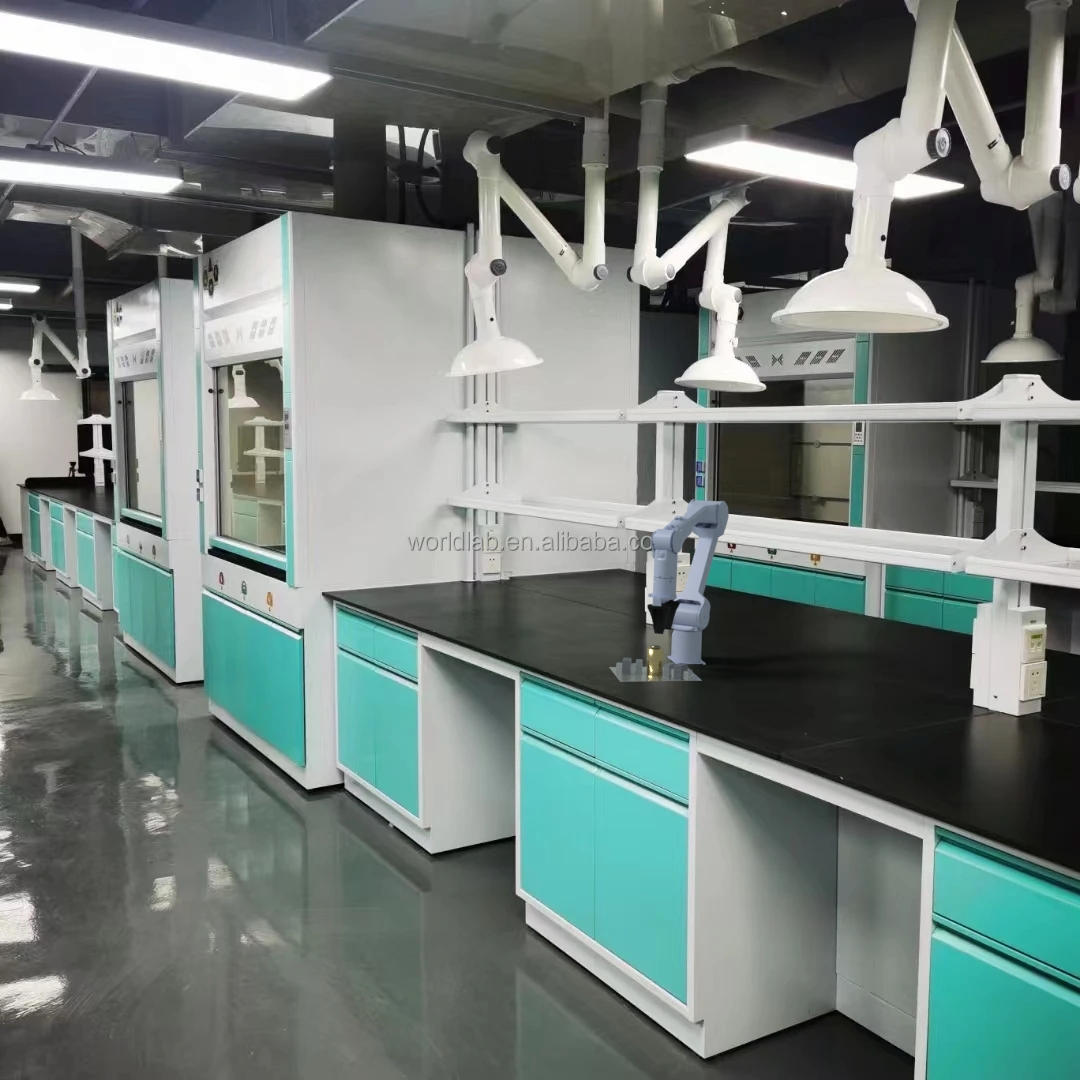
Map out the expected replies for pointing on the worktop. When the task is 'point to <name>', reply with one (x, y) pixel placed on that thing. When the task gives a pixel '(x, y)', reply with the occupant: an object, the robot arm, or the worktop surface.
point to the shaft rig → (638, 673)
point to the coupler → (655, 660)
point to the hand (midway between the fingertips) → (662, 631)
